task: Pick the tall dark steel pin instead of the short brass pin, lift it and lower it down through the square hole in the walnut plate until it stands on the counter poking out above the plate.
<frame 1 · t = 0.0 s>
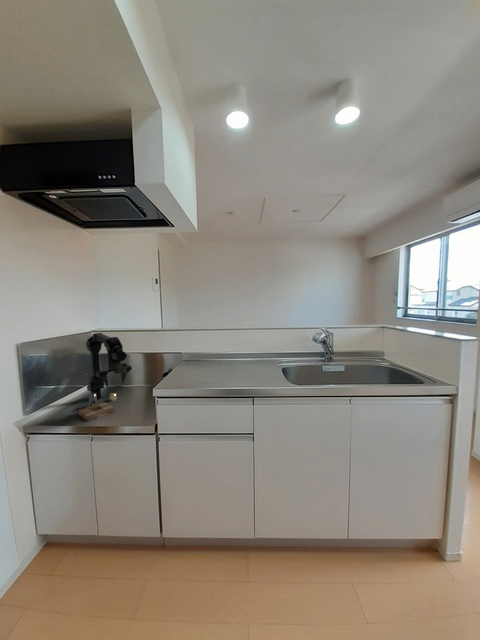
hand: (115, 384, 154), 14 cm above the worktop, tool pointing down, fingers open, 9 cm apart
short pin: (113, 400, 169), on the worktop
tall pin: (93, 406, 159), on the worktop
hole plate: (96, 413, 150), on the worktop
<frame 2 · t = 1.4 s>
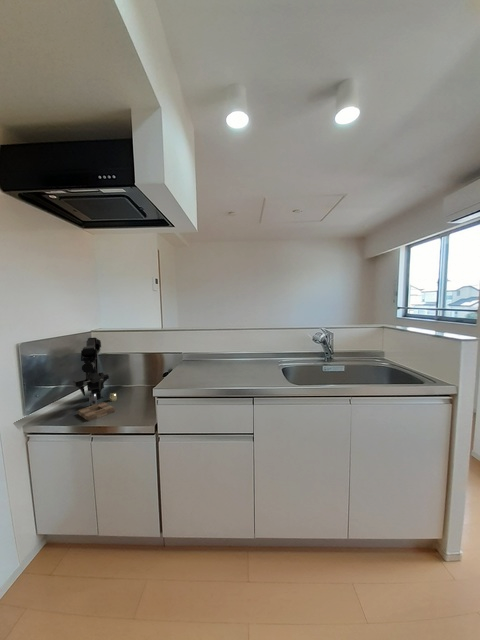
hand: (92, 393, 159), 8 cm above the worktop, tool pointing down, fingers open, 9 cm apart
nothing on the worktop moved.
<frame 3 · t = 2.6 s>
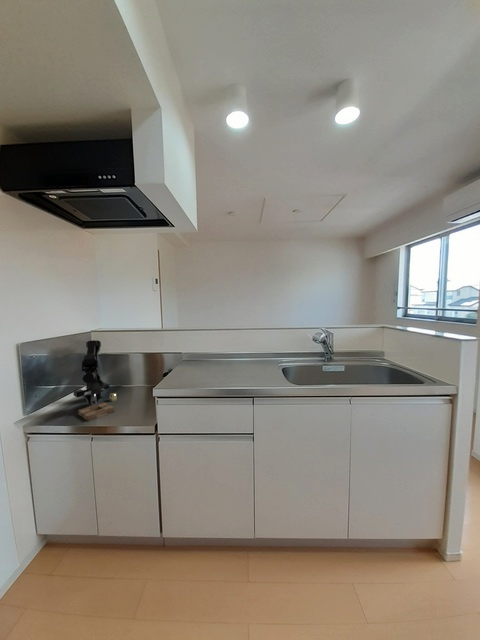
hand: (93, 403, 159), 2 cm above the worktop, tool pointing down, fingers closed on tall pin, 4 cm apart
tall pin: (93, 406, 159), on the worktop, touching gripper
everything else where it was.
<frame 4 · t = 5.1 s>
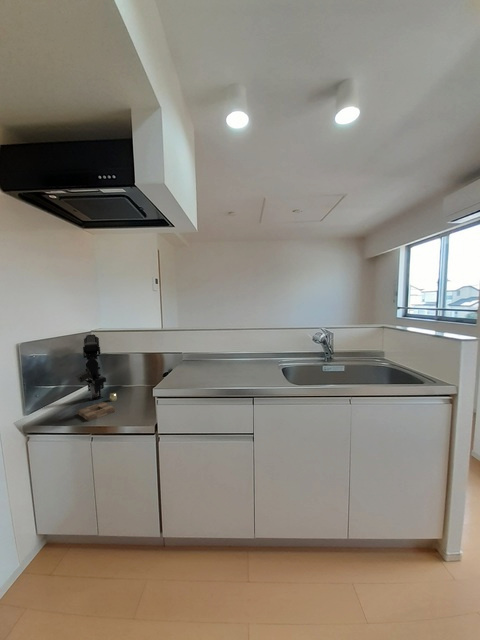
hand: (94, 392, 149), 12 cm above the worktop, tool pointing down, fingers closed on tall pin, 4 cm apart
tall pin: (95, 396, 149), point 10 cm above the worktop, touching gripper
everything else where it was.
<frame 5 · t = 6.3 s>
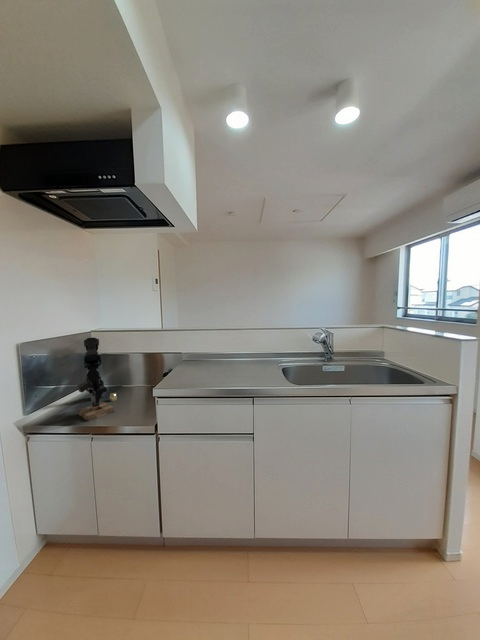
hand: (95, 402, 149), 7 cm above the worktop, tool pointing down, fingers closed on tall pin, 4 cm apart
tall pin: (96, 405, 149), point 5 cm above the worktop, touching gripper
everything else where it was.
when the fingers open (3 cm above the worktop, at t = 7.4 s): tall pin drops 1 cm, resting in hole plate.
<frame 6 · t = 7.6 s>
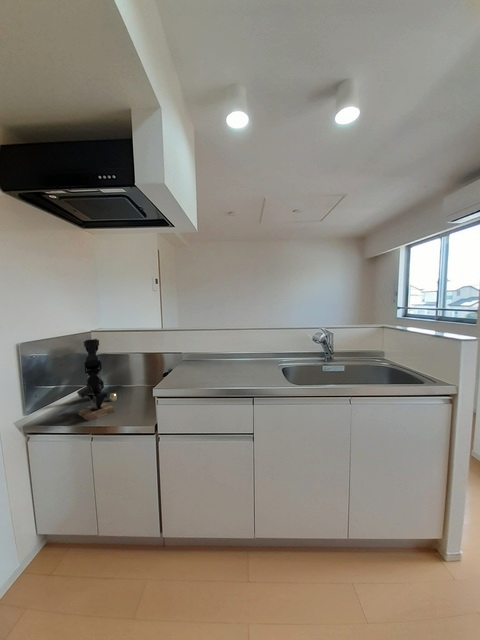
hand: (96, 407, 149), 3 cm above the worktop, tool pointing down, fingers open, 6 cm apart
tall pin: (96, 413, 150), resting in hole plate
everything else where it was.
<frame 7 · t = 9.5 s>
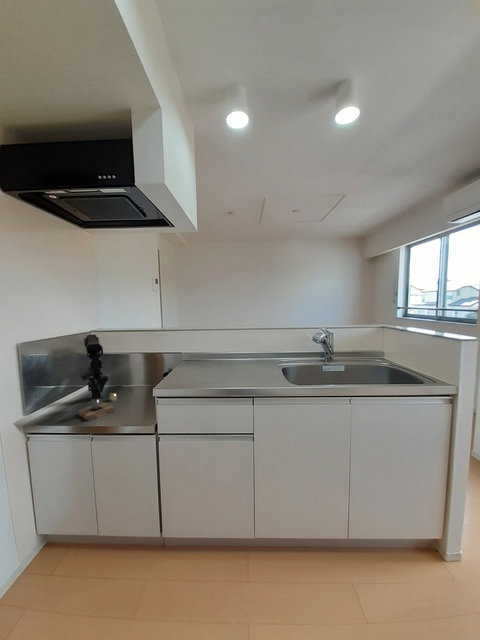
hand: (97, 390, 154), 11 cm above the worktop, tool pointing down, fingers open, 9 cm apart
nothing on the worktop moved.
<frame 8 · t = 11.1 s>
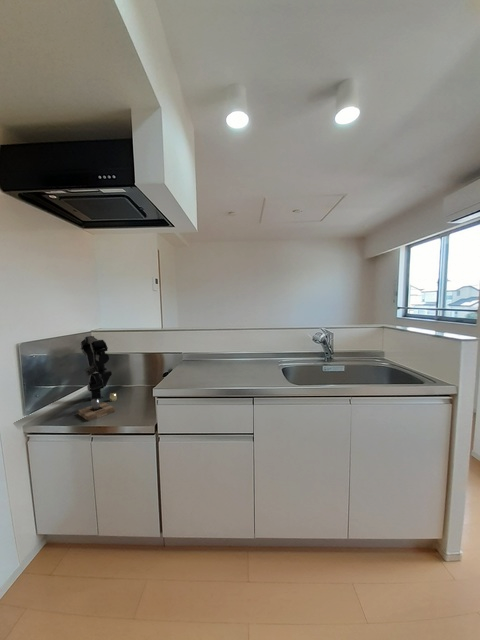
hand: (101, 385, 161), 12 cm above the worktop, tool pointing down, fingers open, 9 cm apart
nothing on the worktop moved.
at the end: tall pin 0.1 cm from the hole plate (horizontally); tall pin resting in hole plate; short pin moved 0.1 cm from its start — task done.
